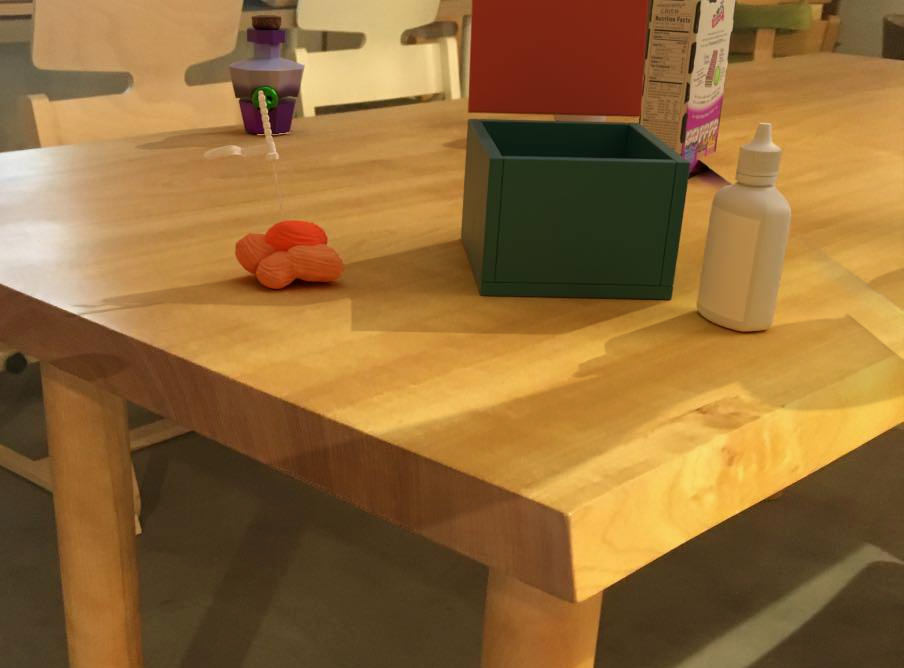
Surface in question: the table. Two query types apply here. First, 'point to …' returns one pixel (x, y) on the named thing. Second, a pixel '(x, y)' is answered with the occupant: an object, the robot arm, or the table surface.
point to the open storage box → (572, 209)
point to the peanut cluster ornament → (282, 233)
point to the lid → (557, 57)
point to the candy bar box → (686, 74)
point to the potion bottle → (266, 78)
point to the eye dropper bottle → (746, 241)
